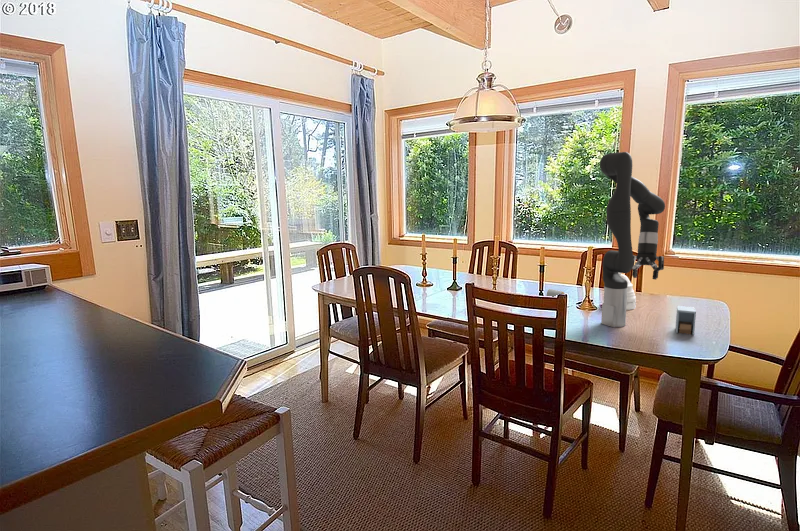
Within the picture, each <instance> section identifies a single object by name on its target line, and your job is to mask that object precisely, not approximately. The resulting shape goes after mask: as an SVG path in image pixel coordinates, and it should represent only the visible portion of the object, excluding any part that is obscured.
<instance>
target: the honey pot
mask: <svg viewBox="0 0 800 531" xmlns="http://www.w3.org/2000/svg"><path fill="white" fill-rule="evenodd" d="M618 274H619V275H620V276H621V277H622V278H623V279H625V280H626V281H627V283H628V286H627V305H626V311H629V310H630V311H632V310H634V309H636V306H637V296H636V294H635V290H634V289H633V286H634V284H633V283H631V280H630V279H629V277H628V276H627V275H625V274H624V273H619V272H618Z"/></svg>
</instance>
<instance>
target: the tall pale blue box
mask: <svg viewBox="0 0 800 531" xmlns="http://www.w3.org/2000/svg"><path fill="white" fill-rule="evenodd" d="M696 316H697V310H696V308H695V307H694V306H684V305H683V306H682V305H677V306H676V316H675V317H676V318H675V333H676V334H679V321H682V322H691V325H692V326H691V335H692V336H694V335H695V329H696Z"/></svg>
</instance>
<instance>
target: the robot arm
mask: <svg viewBox="0 0 800 531" xmlns="http://www.w3.org/2000/svg"><path fill="white" fill-rule="evenodd" d="M599 168H600V170H601V172H602V173H603V175H605V176H606V177H607V178H609V179H610V180H611V181H613V182H615V189H614V191H613V193H612V195H611V196H610V199H609V200H608V203H607V205H606V223H607V226H608V228H609V230H610V232H611V233H612V235H613V237H614V238H615V240H616V244H617V250H613V249H612V250H608V251H607V252H605V253H604V256H603V258H602V280H603V284H604V285H603V286H604V287H603V303H602V304H601V317H600V318H601V323H600V324H602V325H604V326H608V327H612V328H620V327H625V326H626V324H627V323H626V319H627V310H626V305H627V286H628V283H627V281H626V280H625V279H623V278H622V277H621V276H620V275H619V274H618V272H619V273H621V274H629V273H630V272H631V271H632V272H631V273H632V274H631V276H632V277H633V279H637V278H638V272H639V271H638V269H639V268H640V267H641V266H650V267H651V268H652V280H657V279H658V278H659V272H660V271H663V270H664V269H665V257H664V256H663V255H658V256H657V253H658V244H659V241H658V240H659V234H658V232H659V224H660V223H659V221H658V220H657V219H651V218H650V215H660V214H662V213H663V212H664V210H665V209H666V204H665V201H664V199H663V198H662V197H660V196H659V195H657V194H656V193H654V192H652V191H650V189H649V188H648V187H647V186H646V185H645V184H644V183H643V182H642V181H641V180H639V179H638V178H636V177H634V176H632V174H633V158H632V155H631V154H630V153H629V151H621V152H612V153H611V152H610V153H607V154H605V155H603V156H602V157H601V159H600V162H599ZM631 199H633V201H634V202H635V203H636V204H638V205H637V212H638V216H639V217H638V218H639V222H640V228H639V235H638V243H637V255H634V252H633V245H632V233H631V232H632V228H631V227H632V226H631V225H632V224H631V220H632V219H631V217H632V215H631V214H632V210H631V209H632V208H631V207H632V206H631ZM636 260H637V261H636ZM635 261H636V262H635ZM656 261H657V262H658V263H656Z"/></svg>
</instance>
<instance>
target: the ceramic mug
mask: <svg viewBox="0 0 800 531" xmlns="http://www.w3.org/2000/svg"><path fill="white" fill-rule="evenodd" d="M558 294H566V293H565V292H564V291H562V290H559V289H552V288H548V289H547V291H546V296H552V297H554V296H556V295H558ZM546 296H545V297H546Z"/></svg>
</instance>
